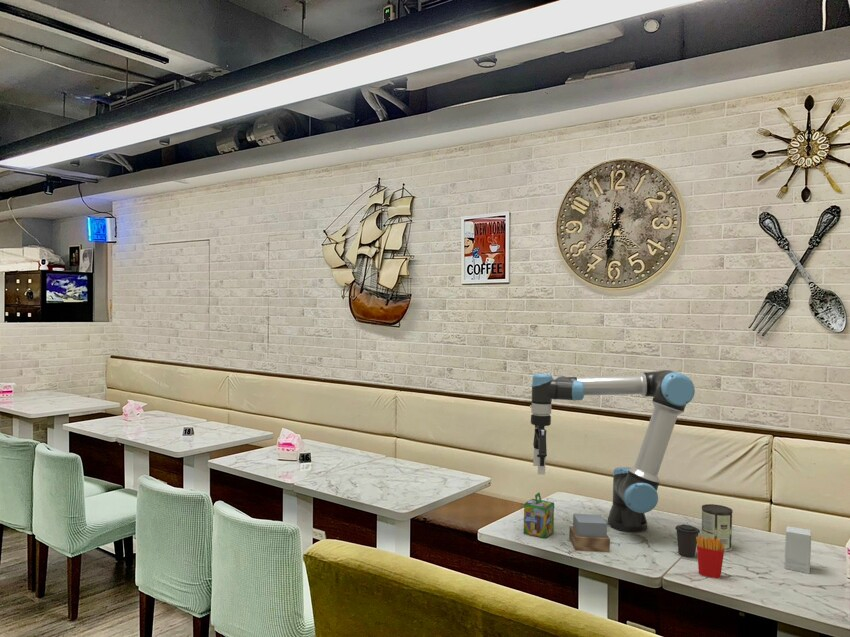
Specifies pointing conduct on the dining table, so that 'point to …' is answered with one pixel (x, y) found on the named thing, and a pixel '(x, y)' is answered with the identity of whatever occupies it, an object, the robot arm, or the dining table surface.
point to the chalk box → (538, 517)
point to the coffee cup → (687, 540)
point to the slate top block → (589, 525)
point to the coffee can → (717, 524)
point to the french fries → (710, 556)
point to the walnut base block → (589, 542)
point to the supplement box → (797, 549)
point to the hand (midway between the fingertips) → (539, 470)
